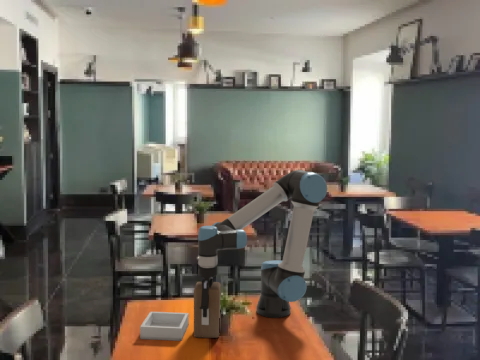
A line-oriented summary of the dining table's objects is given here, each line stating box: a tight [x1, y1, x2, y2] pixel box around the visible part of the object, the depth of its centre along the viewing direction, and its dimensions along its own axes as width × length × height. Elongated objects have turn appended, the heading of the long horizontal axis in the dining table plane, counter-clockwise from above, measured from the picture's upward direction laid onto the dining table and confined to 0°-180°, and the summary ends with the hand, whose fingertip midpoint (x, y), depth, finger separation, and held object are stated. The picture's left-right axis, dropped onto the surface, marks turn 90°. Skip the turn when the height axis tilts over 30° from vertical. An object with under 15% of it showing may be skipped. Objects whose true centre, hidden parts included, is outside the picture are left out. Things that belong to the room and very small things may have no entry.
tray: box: [139, 311, 190, 342], centre depth 217 cm, size 16×16×5 cm
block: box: [193, 281, 222, 339], centre depth 215 cm, size 10×10×20 cm
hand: (207, 318), depth 215 cm, fingers open, 11 cm apart
